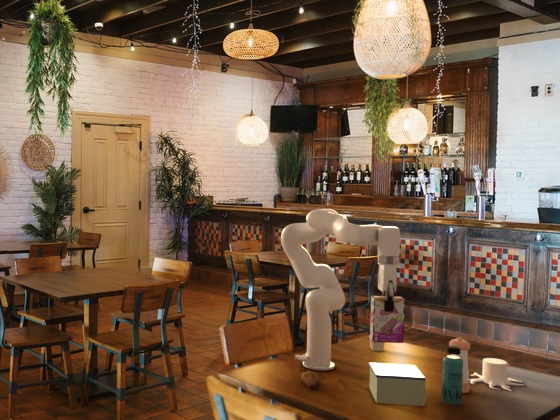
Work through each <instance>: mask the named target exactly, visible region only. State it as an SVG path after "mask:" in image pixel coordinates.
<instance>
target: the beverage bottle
mask: <svg viewBox="0 0 560 420" xmlns="http://www.w3.org/2000/svg"><path fill="white" fill-rule="evenodd" d="M446 353H447V354H448V355H446V356H445V357H443V359H442V360H443V362H442V378H441V392H440V393H441V395H440V396H441V397H440V398H441V401H442V402H444V403H446V404H450V405H459V404H462V401H463V394H464V393H463V391H462V385H463V384H462V382H463V360H462V359H461V358H460V357H458V356H451V354H454V355H459V354H461V352H460V348H459V347H456V346H447V350H446Z"/></svg>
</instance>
